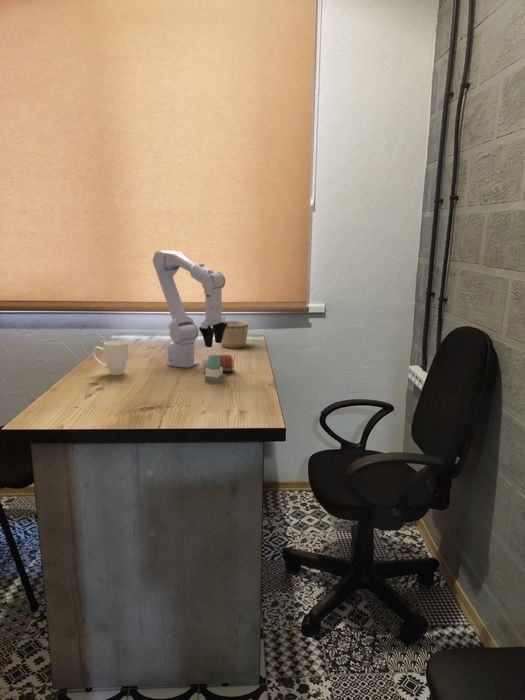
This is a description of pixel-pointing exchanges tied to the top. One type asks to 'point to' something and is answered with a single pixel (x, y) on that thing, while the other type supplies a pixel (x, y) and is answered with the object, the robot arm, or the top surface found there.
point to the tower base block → (214, 379)
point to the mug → (114, 356)
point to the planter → (235, 334)
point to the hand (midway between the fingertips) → (213, 344)
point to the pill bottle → (222, 363)
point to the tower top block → (213, 372)
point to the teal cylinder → (213, 362)
